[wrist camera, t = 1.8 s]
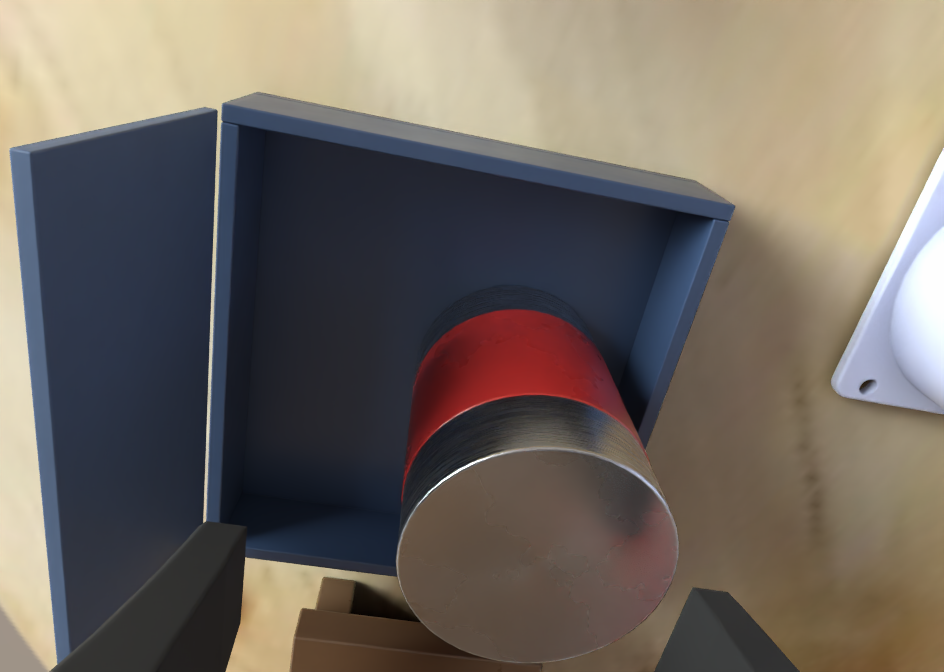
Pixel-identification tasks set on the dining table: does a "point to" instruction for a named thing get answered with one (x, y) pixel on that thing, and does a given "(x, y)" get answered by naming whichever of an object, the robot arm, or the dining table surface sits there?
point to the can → (526, 487)
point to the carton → (409, 300)
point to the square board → (376, 641)
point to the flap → (117, 350)
